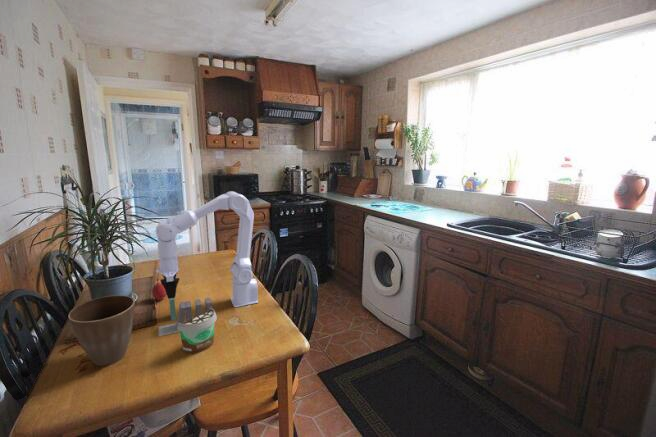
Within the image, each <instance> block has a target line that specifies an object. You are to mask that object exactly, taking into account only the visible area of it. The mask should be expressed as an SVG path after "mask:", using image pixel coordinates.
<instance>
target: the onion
mask: <svg viewBox="0 0 656 437" xmlns="http://www.w3.org/2000/svg"><path fill="white" fill-rule="evenodd" d="M151 295H152V297H153V298H154V299H156V300H159V301H162V300H164V299H165V298H166V297H167V294H166V291H165V288H164V287H163V285H162V284H161V280H159V281H158V282H157V283H156V284H155V285H154V286H153V287H152V289H151Z"/></svg>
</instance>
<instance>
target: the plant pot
mask: <svg viewBox="0 0 656 437" xmlns="http://www.w3.org/2000/svg"><path fill="white" fill-rule="evenodd" d="M134 316H135V299H134V298H133V297H132V296H129V295H123V294H120V295H119V294H116V295H105V296H101V297H98V298H93V299H91V300H87V301H85V302H83V303H80V304H79V305H77V306H75V307H74V308H73V309H71V310H70V312H69V313H68V320H69V322H70V325H71V327H72V329H73V332H74V334H75V337H76V339H77V341H78V342H79V344H80V346H81V347H82V349H83V350H84V352H85V354H86V355H87V356H88V357H89V359H90V360H91V361H92V363H94V365H95V366H98V367H105V366H110V365H113V364H115V363H118V362H119V361H120V360H122V359H124V357H125V355H126V352H127V350H128V347H129V343H130V340H131V335H132V330H133V324H134Z"/></svg>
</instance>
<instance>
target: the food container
mask: <svg viewBox="0 0 656 437" xmlns="http://www.w3.org/2000/svg"><path fill="white" fill-rule="evenodd" d="M217 318H218V316H217V314H216V311H215V309H214V308H213V307H212V308H211V307H210V311H208V312H206V311H205V312H202V314H201V315H197V316H196V315H195V316H194V317H193V316H192V319H190V320H189V321H187V320H186V321H184V323H183V324H181V323H178V325H177V330H179V336H180V340H181V345H182V350H183V352H185V353H188V354H190V353H191V354H193V353H195V354H196V353H200V352H203V351H206V350H208V349H210V348H211V347H212V345H213V344H214V342H215V340H214V336H215V323H216V321H217Z"/></svg>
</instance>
